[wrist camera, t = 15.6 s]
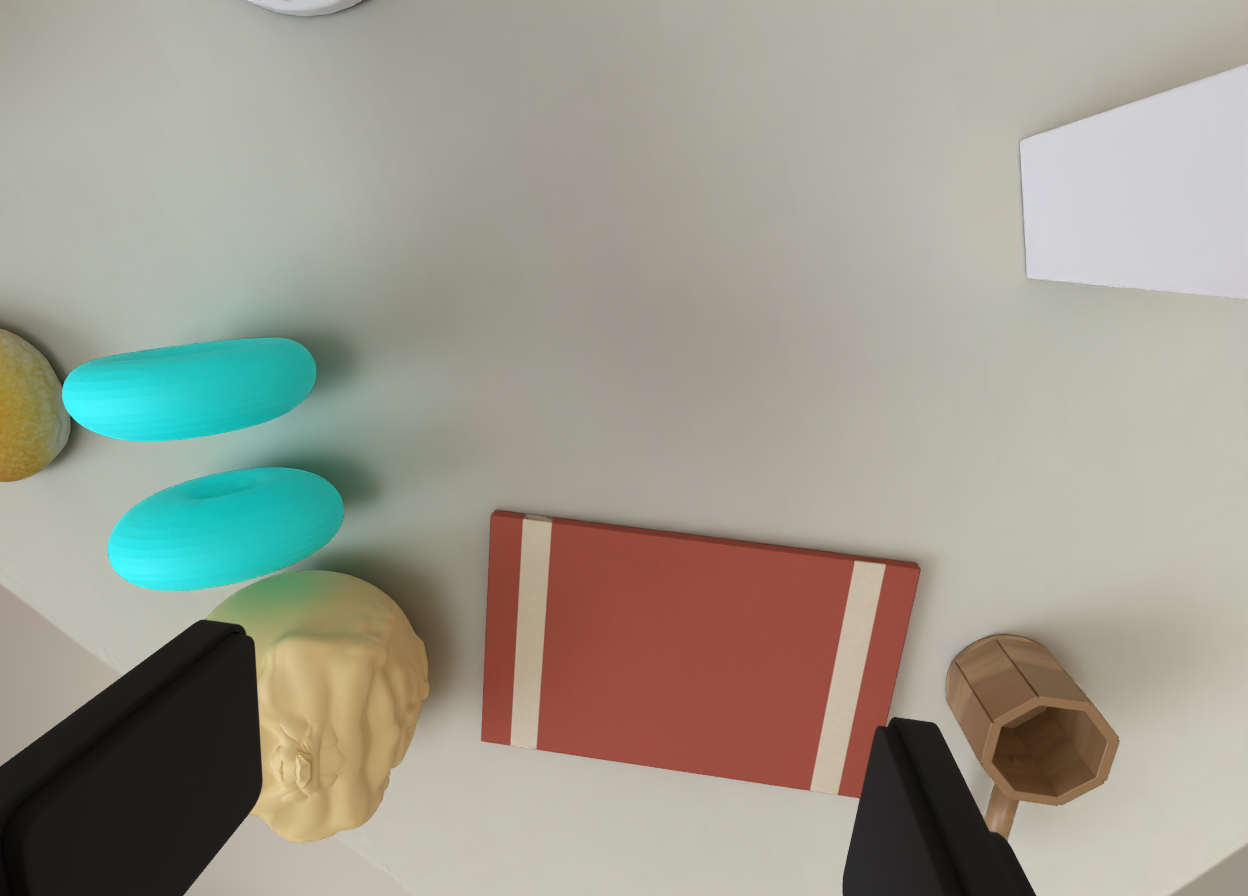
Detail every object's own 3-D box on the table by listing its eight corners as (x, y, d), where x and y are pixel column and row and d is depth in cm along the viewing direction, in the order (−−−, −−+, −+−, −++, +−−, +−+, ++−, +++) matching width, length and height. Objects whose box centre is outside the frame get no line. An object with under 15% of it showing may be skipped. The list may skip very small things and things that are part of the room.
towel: (494, 509, 38) (490, 515, 38) (916, 562, 37) (921, 569, 36) (484, 732, 42) (480, 741, 41) (866, 789, 41) (869, 800, 40)
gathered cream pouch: (448, 740, 43) (367, 898, 32) (254, 706, 43) (115, 849, 33) (459, 564, 39) (372, 676, 29) (250, 531, 40) (94, 628, 30)
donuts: (213, 521, 40) (60, 606, 31) (168, 342, 38) (-13, 375, 28) (382, 513, 39) (277, 599, 30) (348, 328, 37) (221, 356, 27)
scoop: (958, 627, 37) (1000, 690, 32) (1070, 642, 37) (1131, 708, 32) (906, 836, 41) (936, 923, 36) (1008, 852, 41) (1053, 942, 35)
